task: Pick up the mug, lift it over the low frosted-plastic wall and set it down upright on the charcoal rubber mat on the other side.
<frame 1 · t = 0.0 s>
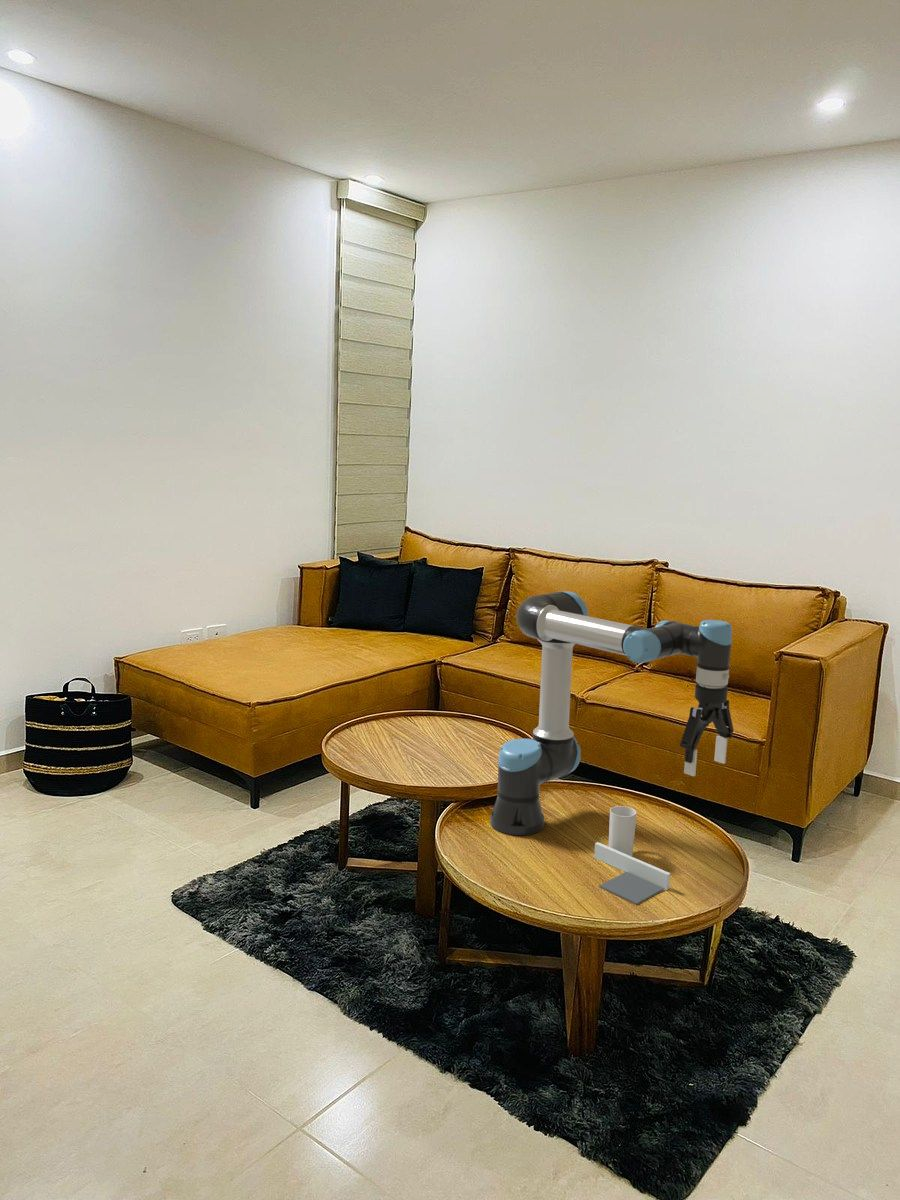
hand: (704, 768, 219), 28 cm above the table, fingers open, 13 cm apart
wall: (630, 872, 224), on the table
mat: (631, 888, 216), on the table
mug: (623, 853, 235), on the table
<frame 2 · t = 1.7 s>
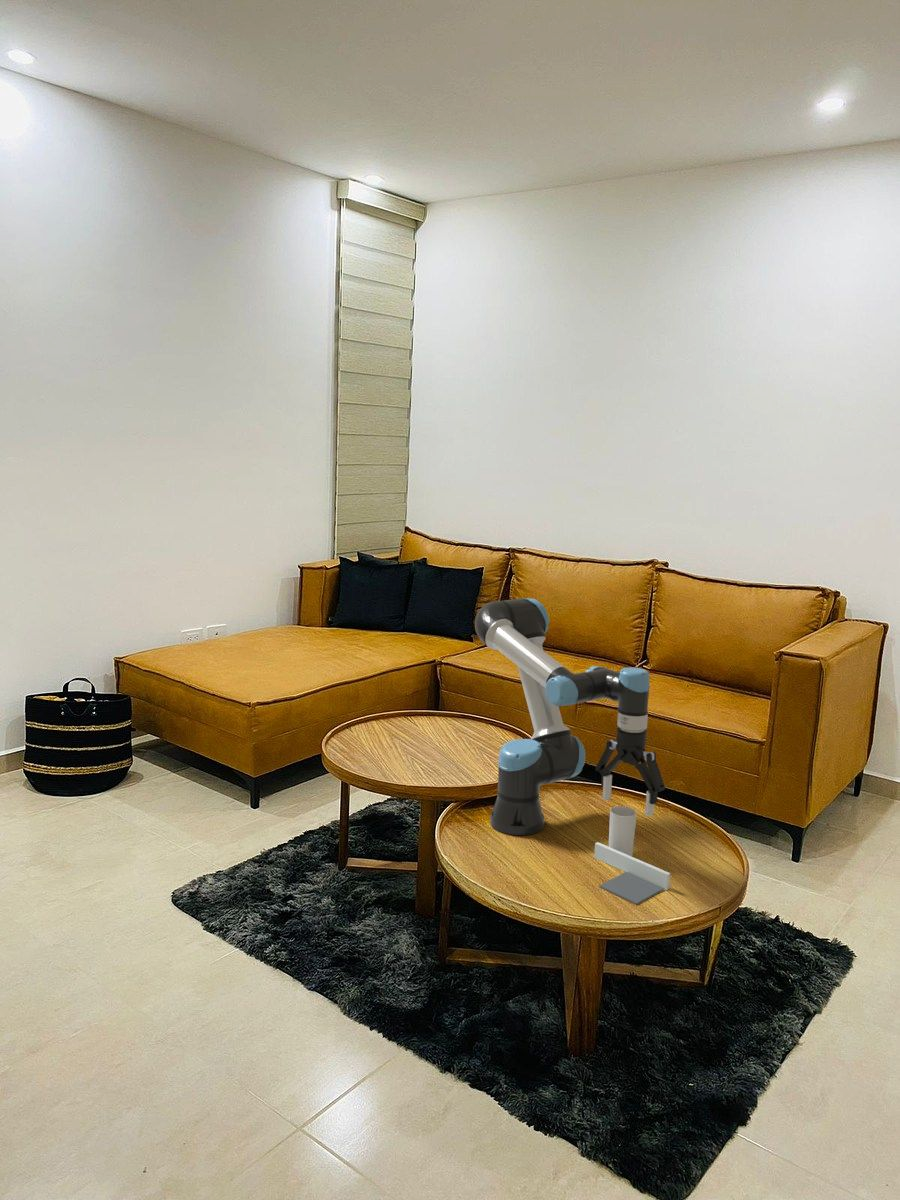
hand: (627, 806, 233), 13 cm above the table, fingers open, 13 cm apart
nothing on the table moved.
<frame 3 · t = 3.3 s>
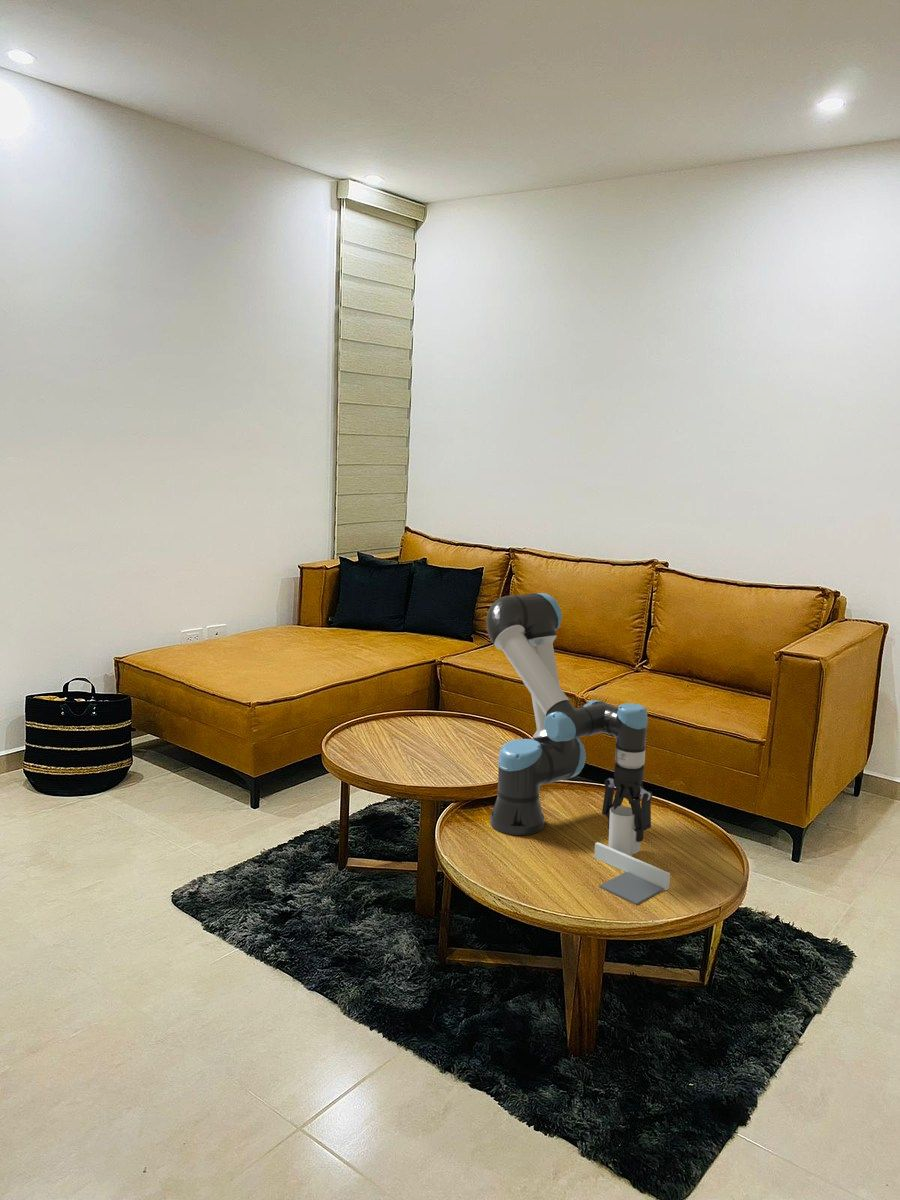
hand: (624, 847, 235), 2 cm above the table, fingers closed on mug, 6 cm apart
mug: (623, 853, 235), on the table, touching gripper
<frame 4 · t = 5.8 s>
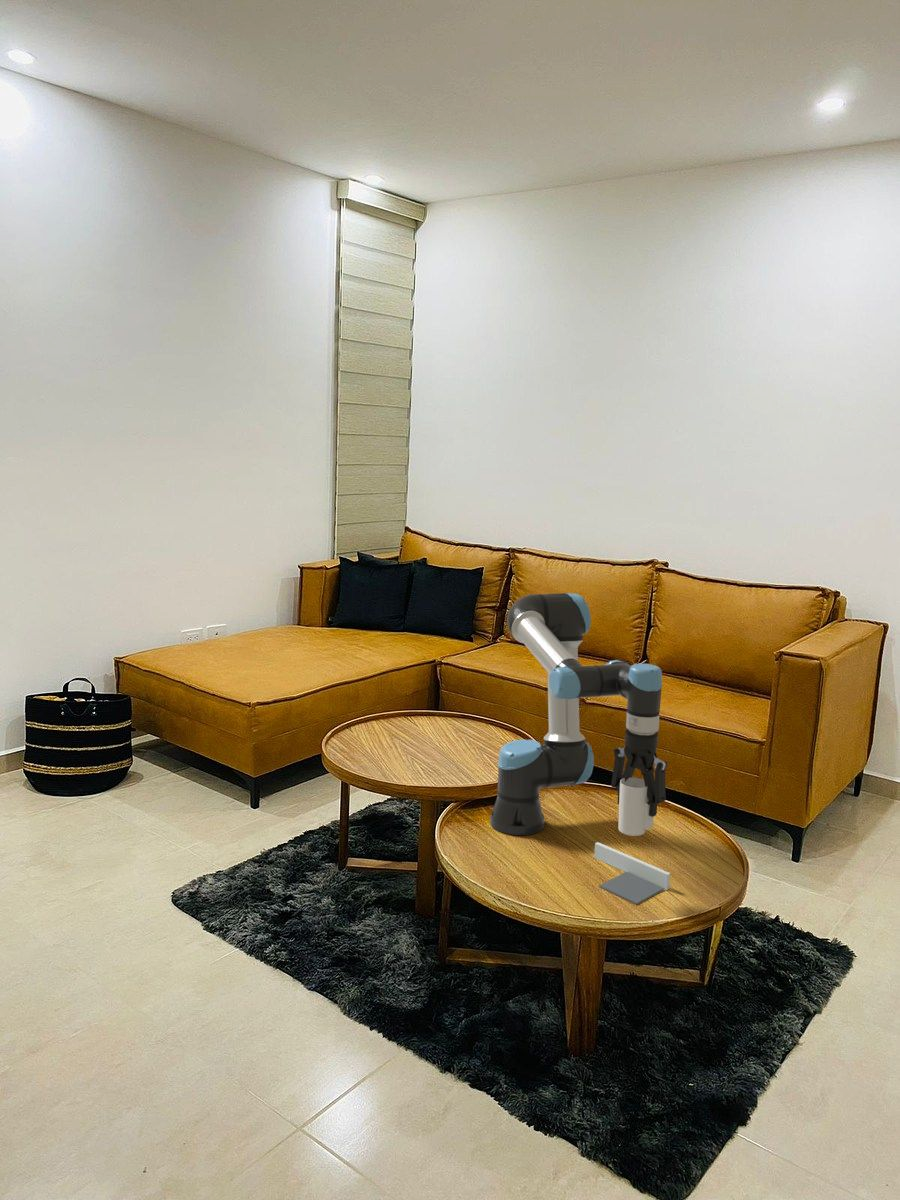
hand: (635, 822, 213), 17 cm above the table, fingers closed on mug, 6 cm apart
mug: (635, 829, 214), point 15 cm above the table, touching gripper
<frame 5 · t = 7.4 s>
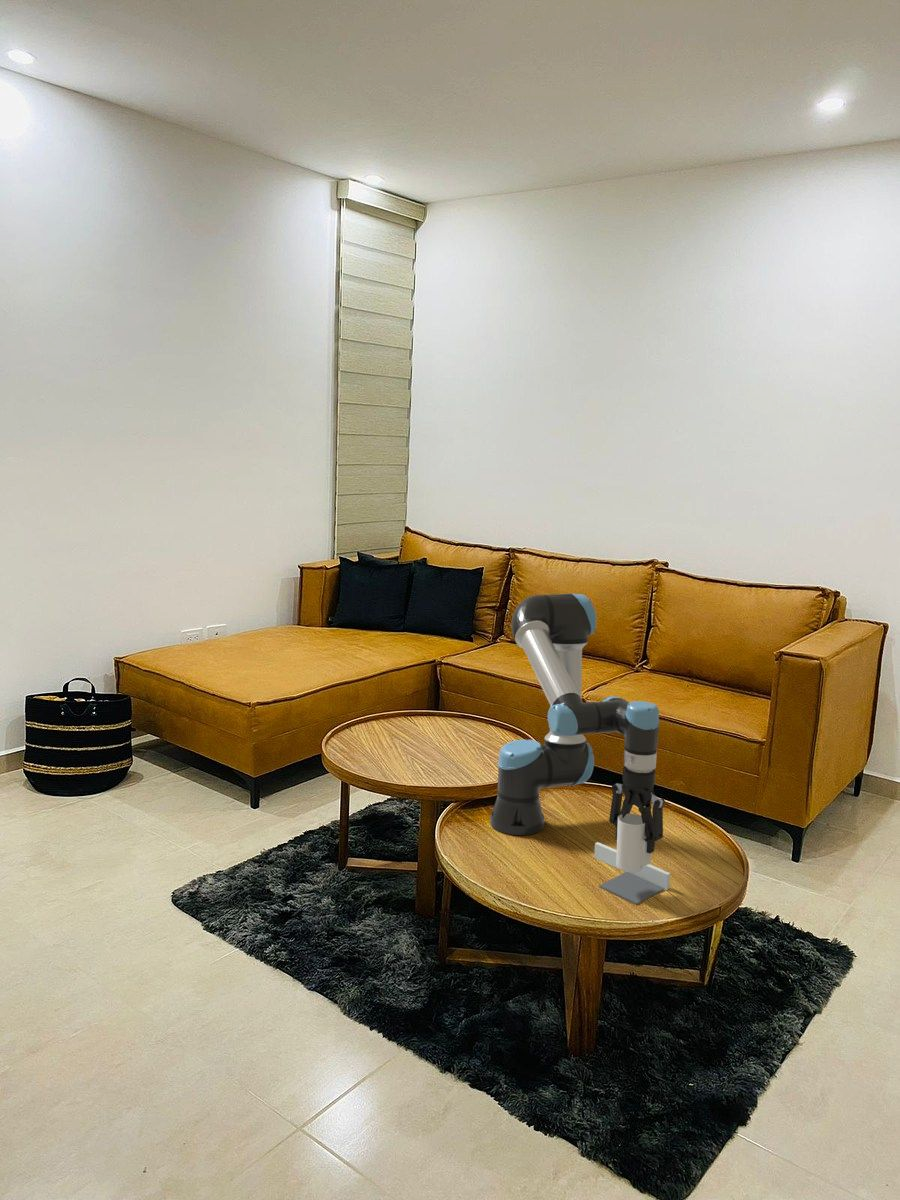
hand: (633, 858, 215), 8 cm above the table, fingers closed on mug, 6 cm apart
mug: (632, 865, 215), point 6 cm above the table, touching gripper
when the fingers open (3 cm above the table, at t = 8.7 s): mug stays where it is, resting on mat.
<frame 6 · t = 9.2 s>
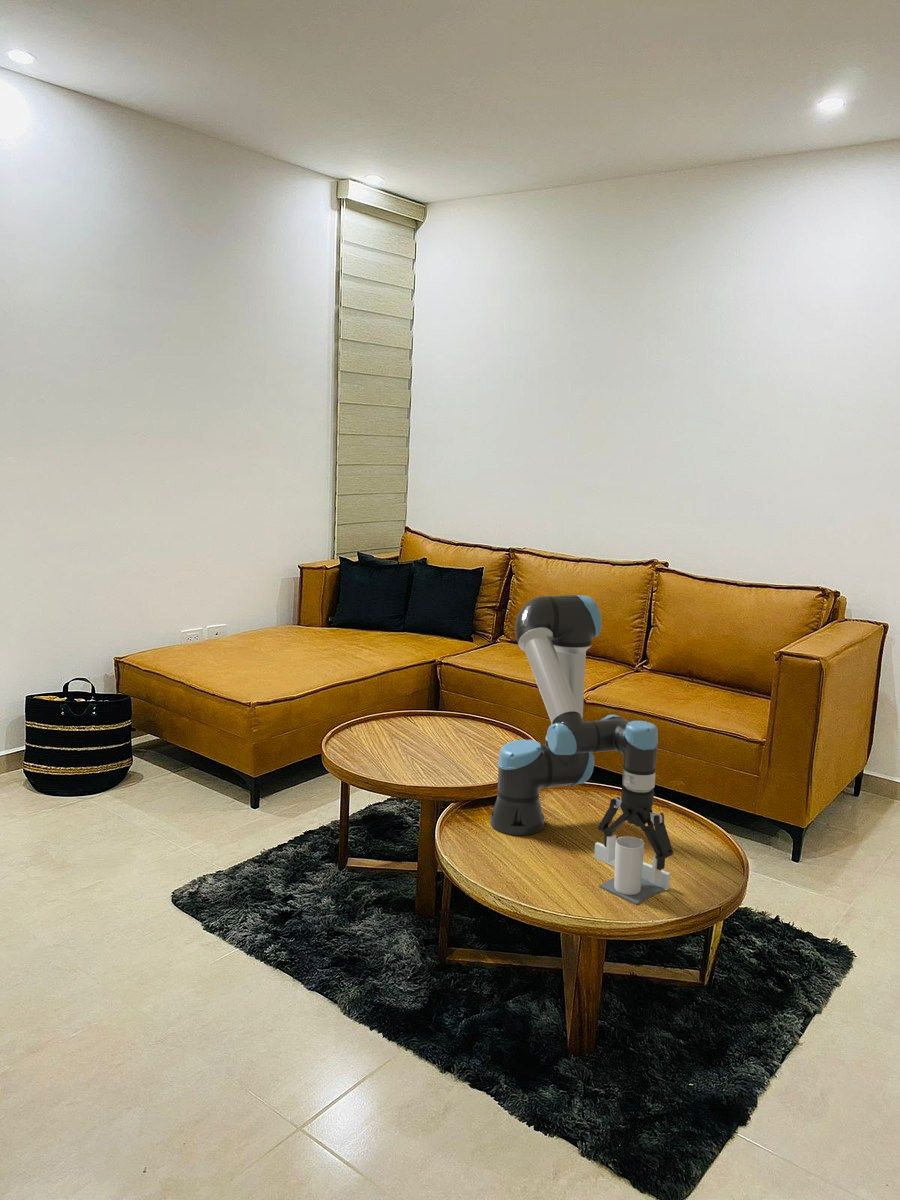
hand: (632, 870, 215), 5 cm above the table, fingers open, 13 cm apart
mug: (630, 887, 216), resting on mat
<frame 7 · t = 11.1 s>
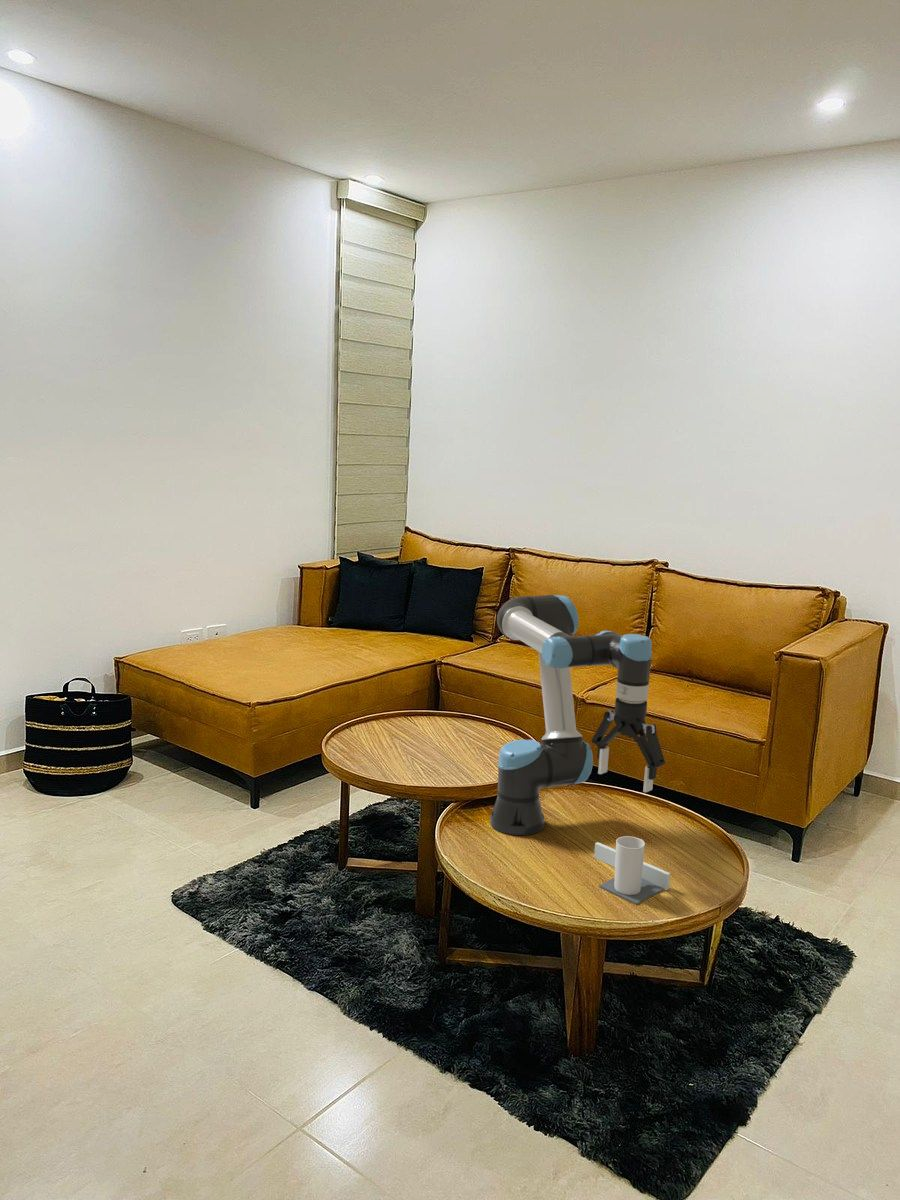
hand: (624, 781, 219), 24 cm above the table, fingers open, 13 cm apart
nothing on the table moved.
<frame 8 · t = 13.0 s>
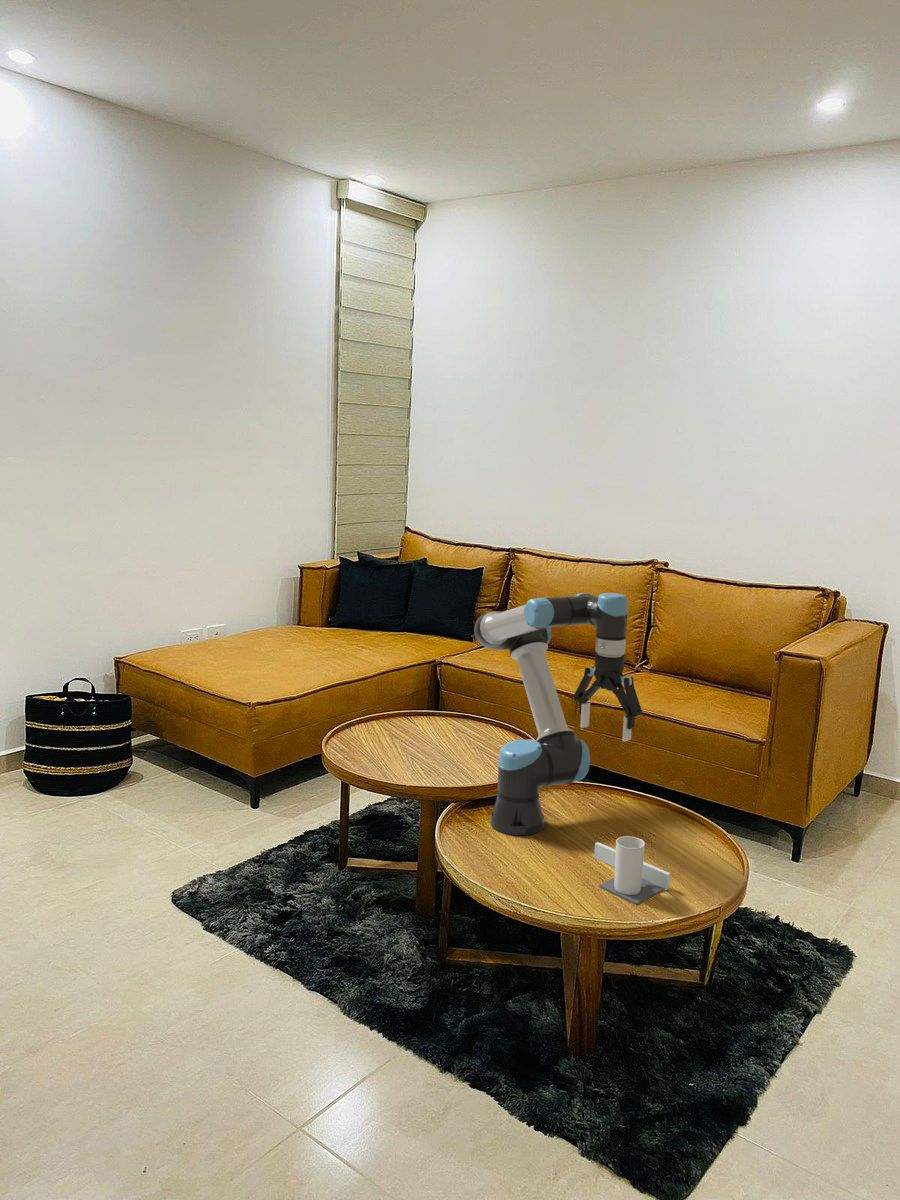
hand: (605, 733, 232), 32 cm above the table, fingers open, 13 cm apart
nothing on the table moved.
at the end: mug inside the target area on the mat (0.2 cm from its centre), point 0.2 cm above the mat's base; mug tilted 0°; the gripper is holding nothing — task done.
